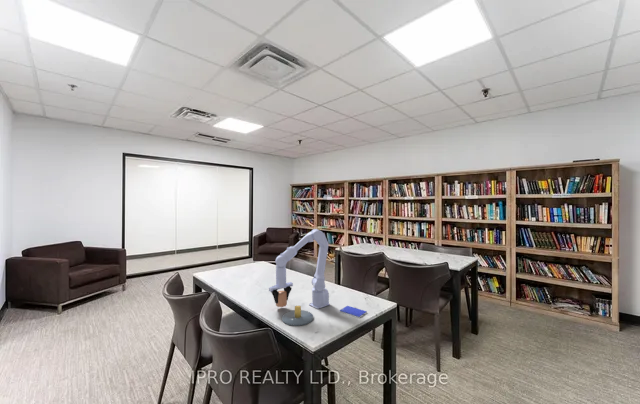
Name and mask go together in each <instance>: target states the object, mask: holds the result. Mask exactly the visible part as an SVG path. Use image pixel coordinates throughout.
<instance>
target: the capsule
mask: <svg viewBox="0 0 640 404" xmlns="http://www.w3.org/2000/svg"><path fill="white" fill-rule="evenodd" d="M294 310H295V318H300V317H301V310H302V306H301V305H295V306H294Z"/></svg>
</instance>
